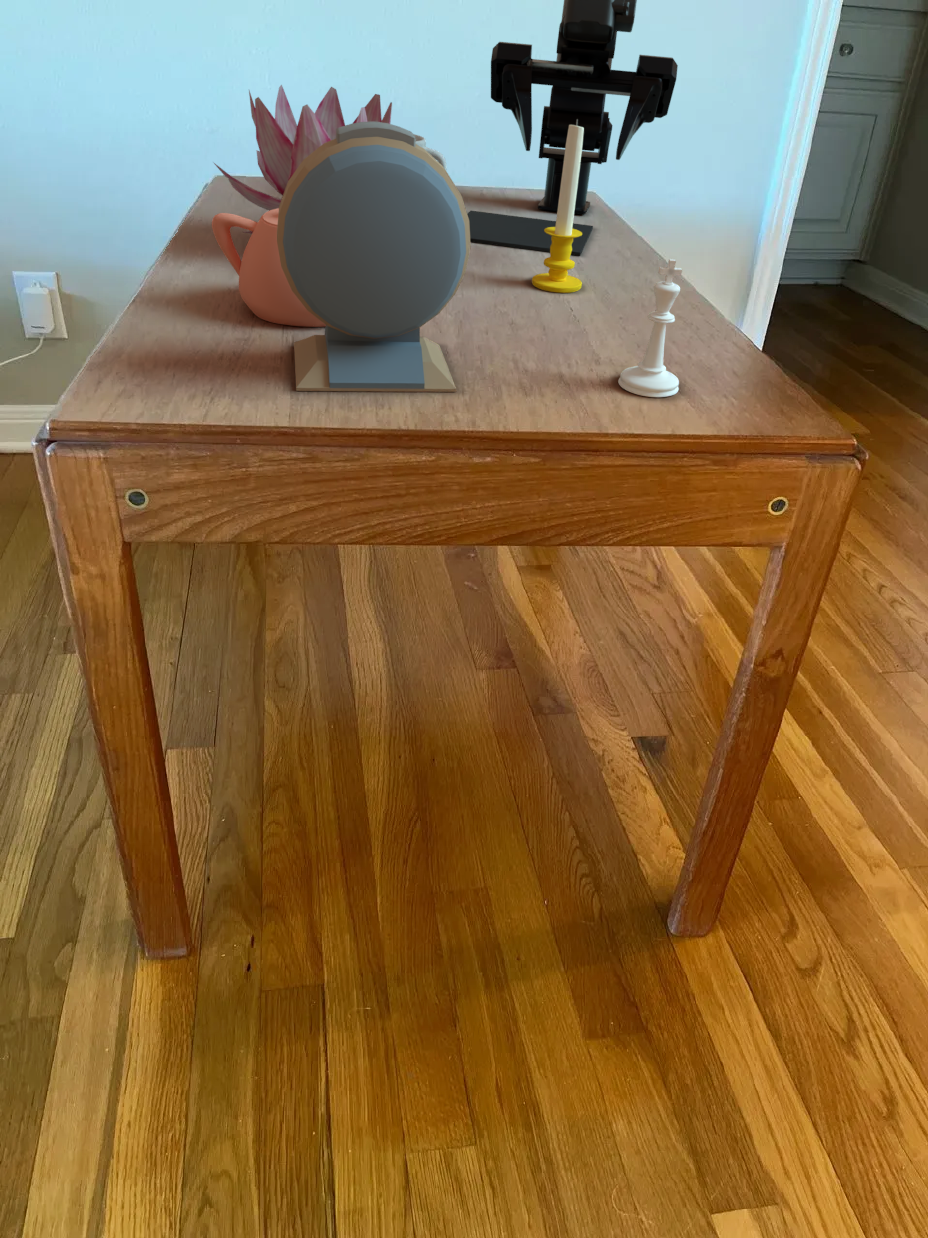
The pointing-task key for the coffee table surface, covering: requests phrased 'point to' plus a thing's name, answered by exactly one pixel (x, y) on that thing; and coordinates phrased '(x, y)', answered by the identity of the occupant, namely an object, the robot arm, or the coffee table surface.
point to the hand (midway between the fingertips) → (573, 152)
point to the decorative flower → (295, 139)
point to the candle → (564, 222)
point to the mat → (519, 232)
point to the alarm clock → (372, 259)
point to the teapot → (262, 270)
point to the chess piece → (656, 344)
